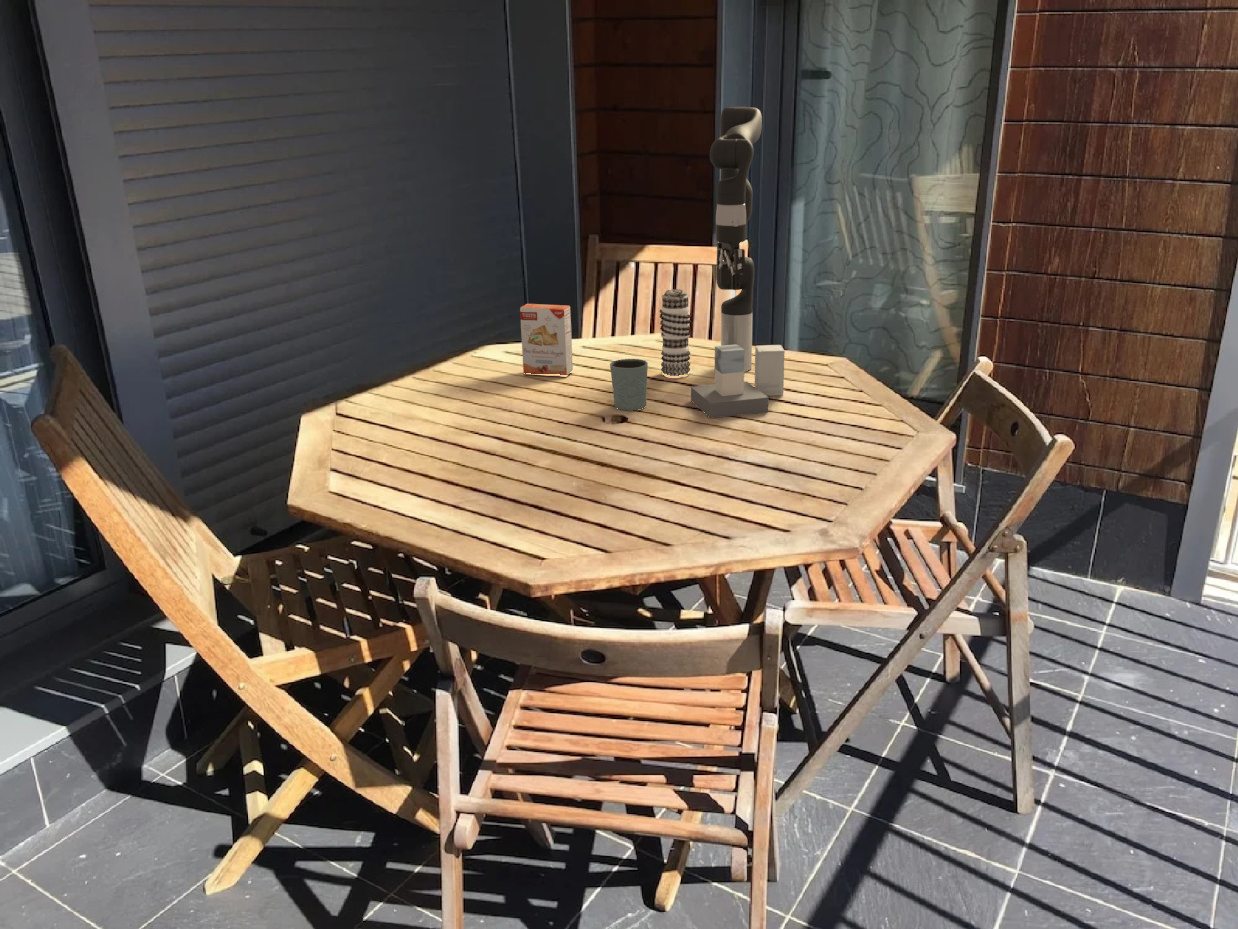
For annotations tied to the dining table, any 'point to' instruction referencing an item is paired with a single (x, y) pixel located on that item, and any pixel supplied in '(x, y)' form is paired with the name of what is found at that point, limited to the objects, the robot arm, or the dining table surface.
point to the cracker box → (546, 339)
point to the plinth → (729, 401)
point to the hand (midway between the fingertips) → (730, 286)
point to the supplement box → (769, 369)
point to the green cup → (629, 383)
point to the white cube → (729, 383)
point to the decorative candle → (675, 332)
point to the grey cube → (729, 359)
